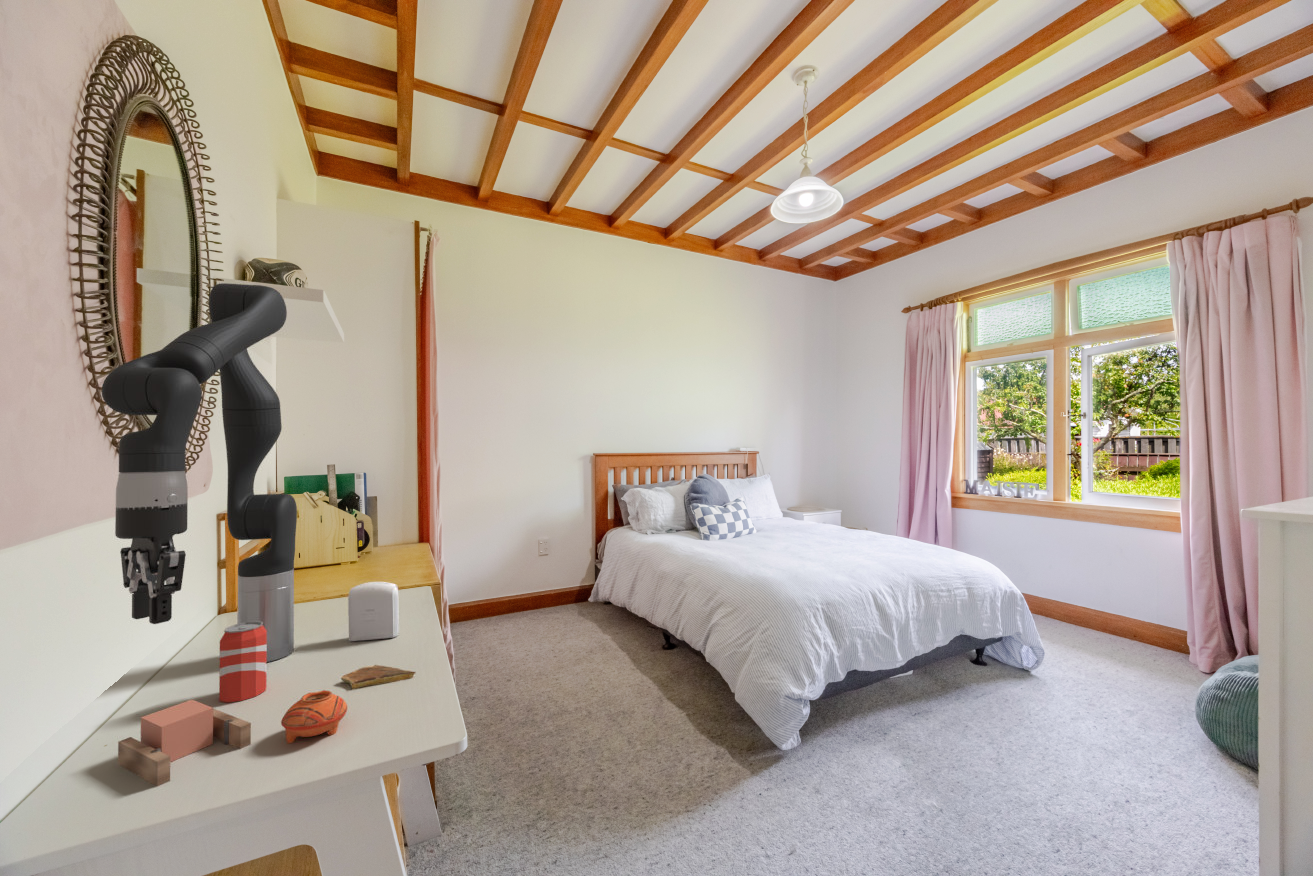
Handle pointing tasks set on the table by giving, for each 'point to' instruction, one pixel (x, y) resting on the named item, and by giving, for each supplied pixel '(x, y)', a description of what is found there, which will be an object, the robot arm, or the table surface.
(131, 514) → the robot arm
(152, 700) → the table surface
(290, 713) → the pot
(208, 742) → the block
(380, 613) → the photo printer
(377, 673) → the shard
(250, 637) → the beverage can
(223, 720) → the tan wooden frame
